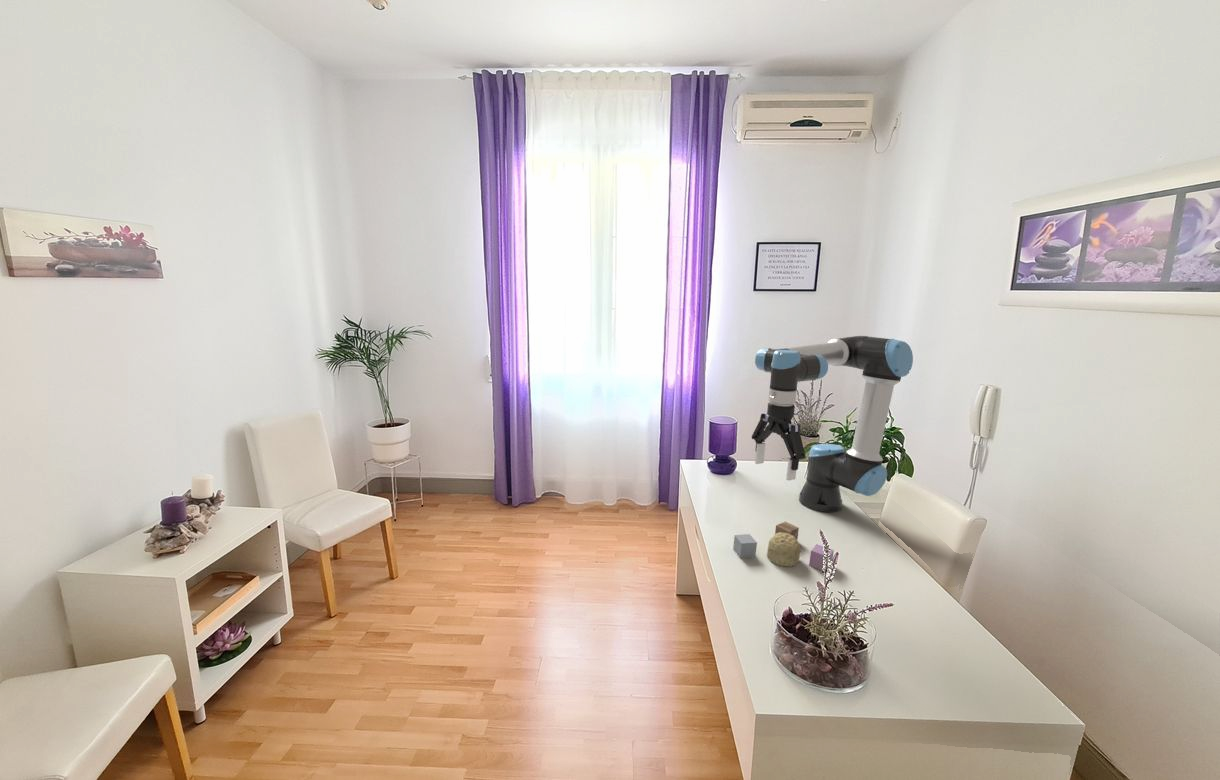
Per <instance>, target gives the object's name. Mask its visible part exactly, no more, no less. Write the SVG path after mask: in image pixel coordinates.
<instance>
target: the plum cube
mask: <svg viewBox="0 0 1220 780" xmlns="http://www.w3.org/2000/svg"><path fill="white" fill-rule="evenodd" d="M828 548H829V547H828ZM829 549H830V561H832V562H833V560H832V559H834V558H833V557H834V551H835V550H834V549H832V548H829ZM823 557H824V551H823V545H821V544H818V543H816V544H815V545H814V546H813V547H812V549H811V550H810V557H809V563H808V566H809V567H812V568H815V569H817V568H818V569H817V570H821V571H822V568H823Z"/></svg>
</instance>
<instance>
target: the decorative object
mask: <svg viewBox="0 0 1220 780" xmlns="http://www.w3.org/2000/svg"><path fill="white" fill-rule="evenodd" d="M800 555H801V546H800V542H799V540H798V539H796V538H795V537H794V536H793V535H791V534H788V533H782V532H779V533H776V534H775V533H774V535H773V536H772V537H771V538H770V539H769V541H768V545H767V552H766V558H767V559H768V560H769V561H770V562H772V563H773V564H774V565H778V566H781V567H786V568H791V567H793V566H796V565H797V564H798V562H799V560H800ZM795 564H796V565H795Z"/></svg>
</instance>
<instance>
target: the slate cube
mask: <svg viewBox="0 0 1220 780" xmlns="http://www.w3.org/2000/svg"><path fill="white" fill-rule="evenodd" d="M733 537H734V538H733V545H732V546H733V548H732V549H733V551H734V552H735V554H736V553H737V554H736V555H737V556H738V558H739V559H746V558H749V557H750V558H756V555H757V546H758V541H757V540H755V539H754V538H753V536H752V535H751V533H750V534H749V533H747V534H744V533H743V534H734V536H733Z"/></svg>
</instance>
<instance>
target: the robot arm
mask: <svg viewBox="0 0 1220 780" xmlns="http://www.w3.org/2000/svg"><path fill="white" fill-rule="evenodd" d="M913 358H914V354H913V350H912V349H911V346H910V345H909V344H908V342H906V341H903V340H899V339H894V338H886V337H885V338H883V337H875V336H868V335H855V336H854V335H853V336H846V337H840V338H833V339H831V340H829V341H828V342H825V343H815V344H809V345H801V346H794V347H793V346H791V347H785V348H770V347H769V348H767V347H764V348H761V349H759V350H758V351H757V353H756V354H755V357H754V364H755V367H756V369H758V370H759V371H763V372H764V373H770V379H769V380H770V382H769V383H770V384H769V392H768V401H769V402H768V403H767V411H766V412H765V413H761V414H760V417H759V420H758V423H757V425H756V427H755V429H754V430H753V433H752V434H751V439H752V440H754V441H755V449H754V450H755V460H754V461H755V462H754V463H755V464H756V465H759V464H764V461H765V455H766V454H765V452H766V440H767V438H769V437H770V436H771V434H776V435H778V436H780V437H781V439H782V441H783V442H784V444H785V447H786V449H787V452H788V454H789V456H790V457H789V458H788V461H787V462H788V463H787V470H786V481H792V480H796V478H797V477H796V476H797V471H798V470H799V466H800V465H799V462H800V461H801V460H805V459H806V458H807V457H806V452H805V449H804V444H803V440H802V437H801V424H799V423H798V424H794V423H792V419H793V418H794V416H795V409H796V407H795V404H796V400H797V399H796V398H797V390H798V383H799V382H808V381H816V380H820V379H823V378H824V377H825V376H826V375H827V373H828V370H829V366H830V365H831V366H833V367H841V366H842V367H847V368H848V367H849V368H854V369H858V370H861V371H862V374H861V376H862V378H863V379H864V380H865V384H864V388H863V394H862V397H861V403H860V408H859V412H858V417H857V421H856V425H855V431H854V434H853V435H854V436H853V440H852V445H851V447H850V448H849V449H847V450H845V447H843V445H839V444H835V443H834V444H832V443H831V444H830V443H819V444H814V445H812V446H811V448H810V451H809V455H808V463H807V472H806V481H805V483H804V485H803V487H802V489H801V490H800V492H799V497H798V501H799V503H801V504H802V505H803V506H804V507H806V508H808V509H811V510H814V511H818V512H823V513H825V512H826V513H835V512H839V511H840V510H841V509H842V507H843V499H842V495H841V489H840V487H843V488H845V489H848V490H850V491H852V492H854V493H856V494H860V495H863V496H866V497H871V496H874V495H876V494H877V493H878V492H879V491H881V489H882V488H883V486H884V485H885V484H886V481H887V479H888V470H887V468H886V467H885V466H884V465H883V462H884V461H883V460H884V459H883V457H882V456H881V454H880V450H881V445H882V442H883V441H882V440H883V437H884V432H885V428H886V423H887V418H888V414H889V411H890V405H891V401H892V397H893V392H894V387H895V385H897V384H898V383H900V382H901V380H902V378H903V377H906V376H907V375H909V374H910V371H911V369H912V367H913V363H914V359H913Z"/></svg>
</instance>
